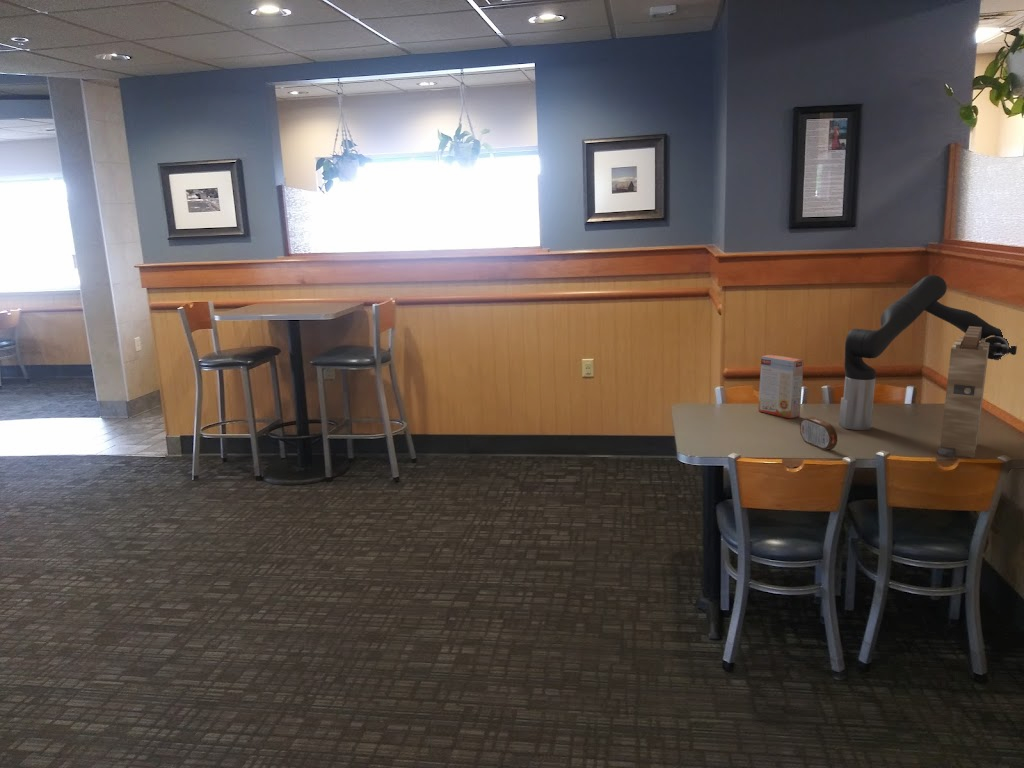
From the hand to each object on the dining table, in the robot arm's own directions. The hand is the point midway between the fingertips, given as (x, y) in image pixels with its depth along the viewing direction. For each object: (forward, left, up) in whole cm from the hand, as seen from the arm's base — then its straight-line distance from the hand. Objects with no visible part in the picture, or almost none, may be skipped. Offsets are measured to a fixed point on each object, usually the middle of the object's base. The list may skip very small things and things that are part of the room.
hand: (988, 349), depth 247 cm
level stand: (-16, -20, -28) cm, 38 cm away
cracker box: (-58, +23, -28) cm, 68 cm away
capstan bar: (-12, -13, +4) cm, 18 cm away
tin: (-57, -16, -28) cm, 65 cm away
